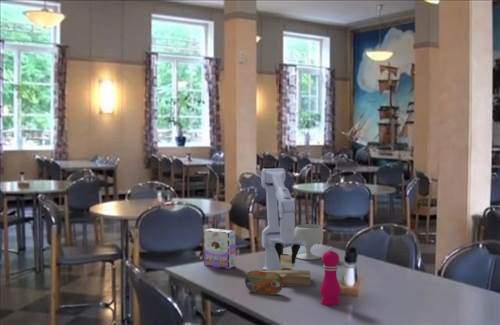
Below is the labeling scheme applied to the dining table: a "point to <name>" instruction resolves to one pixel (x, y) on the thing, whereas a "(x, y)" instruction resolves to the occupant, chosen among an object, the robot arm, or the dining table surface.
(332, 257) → the pepper mill
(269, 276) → the tin
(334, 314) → the dining table surface
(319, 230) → the chalice
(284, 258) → the birch cube
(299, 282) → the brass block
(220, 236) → the candy box
